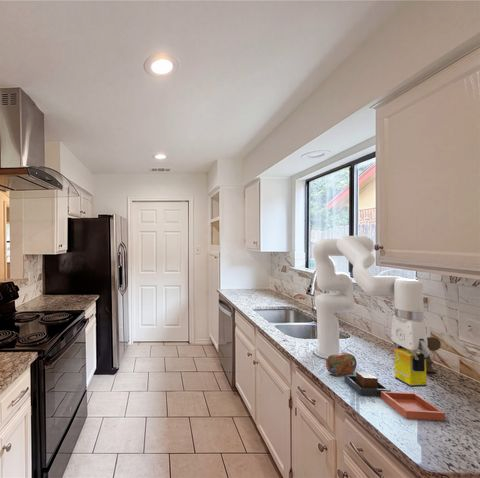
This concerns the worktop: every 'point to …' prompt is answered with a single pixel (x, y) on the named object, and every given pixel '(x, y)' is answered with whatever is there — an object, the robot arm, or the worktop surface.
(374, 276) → the robot arm
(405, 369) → the supplement box
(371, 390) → the charcoal tray
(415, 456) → the worktop surface
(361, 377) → the walnut block
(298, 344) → the worktop surface
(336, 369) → the tin
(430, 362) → the kendama
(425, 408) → the terracotta tray
